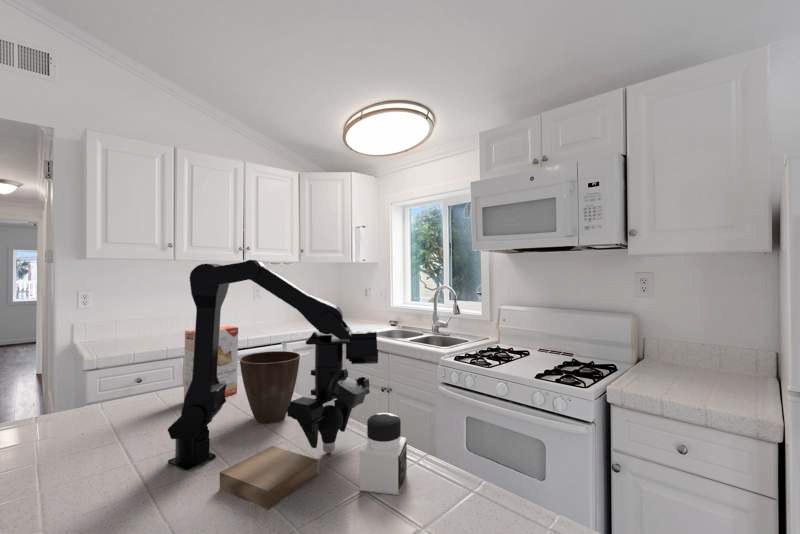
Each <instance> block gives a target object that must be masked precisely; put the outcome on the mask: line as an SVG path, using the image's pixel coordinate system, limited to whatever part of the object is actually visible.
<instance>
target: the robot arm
mask: <svg viewBox="0 0 800 534" xmlns="http://www.w3.org/2000/svg"><path fill="white" fill-rule="evenodd" d="M189 273H190V274H189V283H190V285H189V287H190V294H191V297H192V299H193V302H194V305H195V309H196V311H195V312H196V313H195V328H194V330H195V343H194V359H193V375H192V381H191V384H190V386H189V388H188V391H187V393H186V396H185V399H184V398H183V402H182V407H181V410H180V411H181V413H180V415H181V416H180V417H178V418H177V419H176V420H175V421H174V422H173V423H172V424H171V425H170V426H169V427H168V428H167V432H168V435H169V437H170V439H171V440H175V452H174V453H175V456H174V457H172V458H170V459H168V460H167V464H169V465H172V466H174V467H176V468H178V469H181V470H183V471H189V470H191V469H193V468H197V467H198V466H201V465H203V464H205V463H207V462H209V461H211V460H215V458H217V454H215V453H213V452H210V451H211V447H210V446H211V440H210V429H209V426H208V425H209V424H210V423H211V422H212V421H213V418H214V417H215V416H216V415H217V414H218V413H219V412H220V411H221V410H222V408H223V405H224V404H225V403H226V402H227V399H226V396H225V390H226V383H223V384H220V383H219V380H218V378H217V362H218V346H219V330H220V327H221V326H220V325H221V315H222V314H221V312H222V311H221V310H222V306H223V303H224V301H225V299H226V297H227V294H228V291H229V286H230V284H233V283H238V282H244V281H251V282H253V283H255V284H256V285H258V286H259V287H261V288H262V289H264V290H265V291H267V292H269V293H270V294H272V295H274V296H275V297H277V298H278V299H280V300H281V301H283V302H284V303H286V304H288V305H289V306H290V307H292V308H294V309H295V310H297V311H298V312H299V313H300V314H301V315H302V316H303V317H304V318H305V320H306V321H307V322H308V323H310V325H312V327H313V328H315V329H316V330H317V331H318V332H320V334H318V332H317V331H316V330H315V331H312V333H311V335H310V336H309V337H308V338H307V339H306V341H305V344H306V345H310V346H311V345H314V353H315V355H314V360H315V361H314V368H313V369H311V370H310V376H314V384H315V385H314V388H312V389H310V396H315V398H310V397H306V396H300V397H299V398H296V399H293V400H291V402H290V403H289V404H288V405H287V414H286V417H289V418H291V419H292V420H296V421H297V423H298V424H299V426H300V428H301V429H302V431H303V433H304V435H305V437H306V439H307V441H308V443H309V445H310V447H311V448H312V449H317V447H318V442H319V441H318V440H319V431H318V427H319V422H320V421H321V420H322V419H323V418H324V416H321V415H322V413H323V407H324V406H326V405H329V404H330V403H332V402H333V403H334V406H336V407H337V408H339V409H340V411H341V412H342V415H343V424H342V426H341V428H340V429H339V432H342V433H344V432H345V431H346V430H347V429H346V428H347V425H348V422H349V418H350V417H351V416H350V415H351V413H352V409H355V408H356V407H357V406H359V405H362V404H363V403H364V401H365V398H366V396H367V395H368V394H370V392H371V390H370V379H369V377H367V376H365V375H362V376H359V377H358V378H357V379H356V378H355V377H354V378H351V377H349V371H348V368H347V367H346V368H345V367H343V366H344V365H343V364H344V363H343V362H344V361H343V360H344V359H343V358H344V356H343V355H344V351H343V349H344V344H345V360H348V362H350V363H351V365H363V364H364V365H365V364H366V365H367V364H371V365H372V364H373V365H374V364H378V362H379V348H378V337H377V331H376V330H370V331H369V330H368V331H355V332H354V331H352V330H351V328H350V326H348V325H347V323H346V322H345V320H344V314H343V311H342V309H341V308H340V307H339V306H338V305H336V304H334V303H331V302H330V301H327V300H325V299H322V298H319V297H317V296H314V295H311V294H309V293H307V292H306V291H305V290H303V289H302V288H300V287H298V286H297V285H295V284H294V283H292V282H290V281H289V280H287V279H286V278H284V277H283V276H281V275H280V274H278V273H276V272H275V271H273V270H272V269H271V268H269V267H268V266H266V265H265V264H264V263H263V262H262V261H260V260H256V259H248V260H246V261H242V262H236V263H231V264H224V265H223V264H219V263H201V264H199V265H197V266H195V267H194V268H193V269H191V272H189ZM333 336H334V337H336V338H333Z"/></svg>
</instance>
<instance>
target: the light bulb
mask: <svg viewBox="0 0 800 534" xmlns="http://www.w3.org/2000/svg"><path fill="white" fill-rule="evenodd" d="M321 416H324V418H323V419H322V420H321V421H320V422H319V427H318V433H319V434H320V437H321V441H322V445H323V446H322V450H323V452H324V453H325V454H327V455H330V454H332V453H333V452H334V451H335V450H336V440H337V436H338V433H339V432H340V428H341V426H342V424H343V415H342V412H341V411H340V409H339V408H337V407H336V406H335V405H332V404H326V405H324V406H323V413H322V415H321Z"/></svg>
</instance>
